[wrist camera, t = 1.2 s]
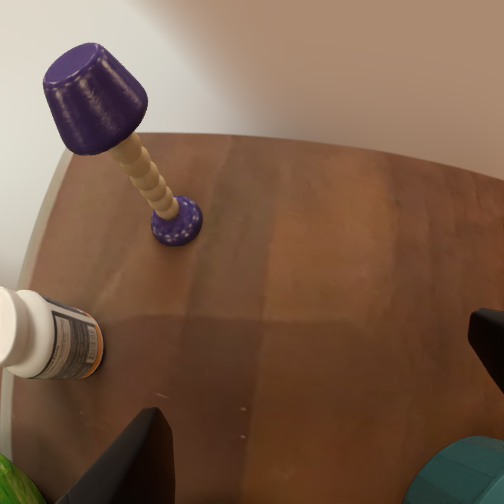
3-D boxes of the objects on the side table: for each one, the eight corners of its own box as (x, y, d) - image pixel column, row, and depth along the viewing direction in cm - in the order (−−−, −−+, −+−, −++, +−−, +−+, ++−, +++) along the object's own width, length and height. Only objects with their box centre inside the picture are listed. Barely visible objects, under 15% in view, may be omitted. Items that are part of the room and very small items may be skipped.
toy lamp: (202, 251, 24) (105, 76, 8) (145, 255, 24) (9, 112, 9) (202, 196, 26) (134, 16, 10) (150, 202, 26) (50, 46, 10)
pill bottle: (43, 346, 22) (-42, 325, 13) (77, 297, 23) (-4, 257, 14) (82, 394, 21) (-8, 395, 11) (119, 342, 22) (35, 321, 13)
